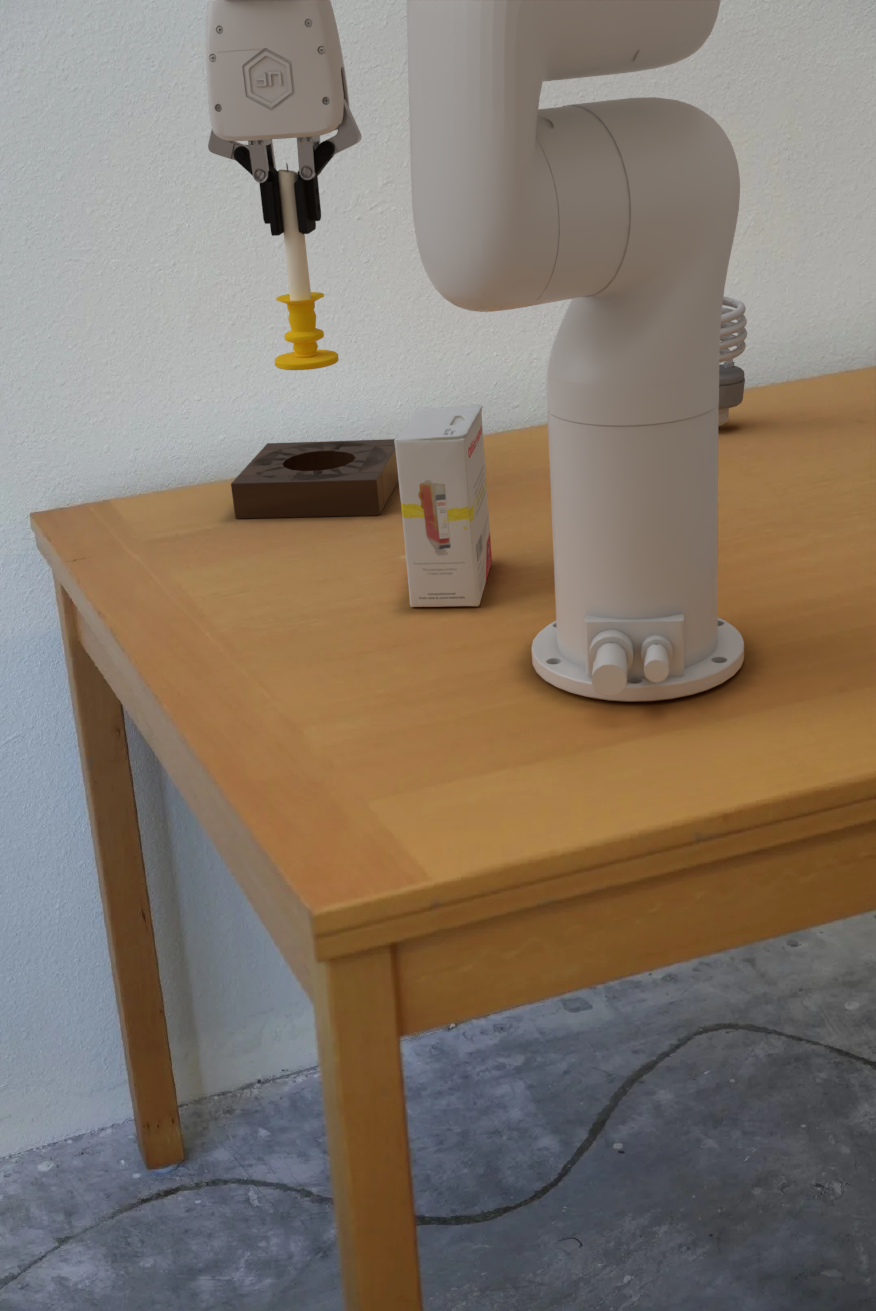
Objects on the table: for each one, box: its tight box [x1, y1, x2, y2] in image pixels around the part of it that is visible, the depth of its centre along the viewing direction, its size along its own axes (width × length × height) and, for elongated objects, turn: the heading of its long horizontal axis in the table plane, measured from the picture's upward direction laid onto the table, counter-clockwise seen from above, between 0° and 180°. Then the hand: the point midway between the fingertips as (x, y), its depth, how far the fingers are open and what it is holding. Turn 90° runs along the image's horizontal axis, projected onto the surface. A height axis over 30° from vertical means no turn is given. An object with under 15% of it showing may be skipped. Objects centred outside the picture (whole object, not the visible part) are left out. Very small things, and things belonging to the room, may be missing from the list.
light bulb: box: [718, 296, 748, 429], centre depth 132 cm, size 6×6×12 cm
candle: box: [274, 162, 340, 371], centre depth 117 cm, size 5×5×16 cm
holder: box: [230, 438, 399, 520], centre depth 124 cm, size 12×12×3 cm
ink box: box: [394, 403, 493, 608], centre depth 100 cm, size 9×5×12 cm, turn 171°
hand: (293, 230), depth 116 cm, fingers closed on candle, 1 cm apart
